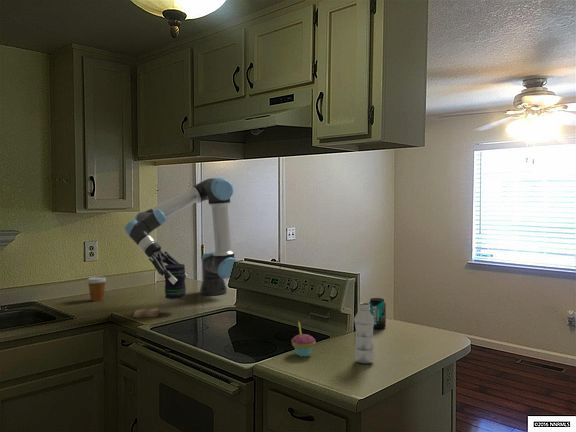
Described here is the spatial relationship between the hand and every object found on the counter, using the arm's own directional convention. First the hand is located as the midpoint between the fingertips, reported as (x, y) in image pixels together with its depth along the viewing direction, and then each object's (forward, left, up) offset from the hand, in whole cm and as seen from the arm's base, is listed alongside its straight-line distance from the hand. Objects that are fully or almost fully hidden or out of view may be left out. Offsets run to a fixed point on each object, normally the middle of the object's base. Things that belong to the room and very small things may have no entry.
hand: (180, 280), depth 237 cm
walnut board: (+16, -2, -16) cm, 23 cm away
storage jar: (+3, -2, -8) cm, 9 cm away
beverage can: (-81, +46, -16) cm, 94 cm away
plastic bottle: (-61, +84, -16) cm, 105 cm away
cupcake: (-43, +71, -16) cm, 85 cm away
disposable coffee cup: (+44, -40, -16) cm, 62 cm away
